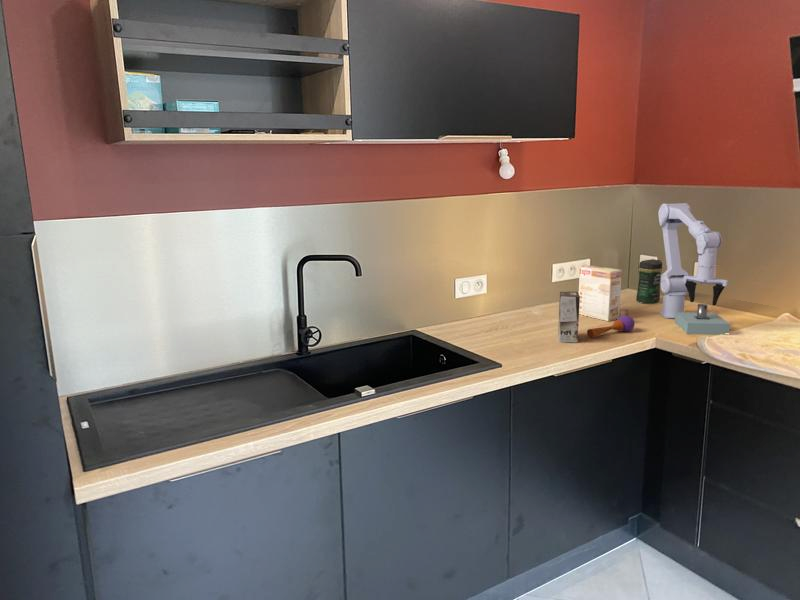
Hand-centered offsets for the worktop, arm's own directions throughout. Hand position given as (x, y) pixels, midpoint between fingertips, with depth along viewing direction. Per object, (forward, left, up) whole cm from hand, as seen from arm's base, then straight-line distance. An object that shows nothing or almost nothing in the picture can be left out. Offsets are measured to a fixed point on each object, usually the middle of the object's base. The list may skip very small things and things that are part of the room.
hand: (703, 303), depth 226 cm
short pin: (-6, -26, -9) cm, 28 cm away
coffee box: (+18, -49, -10) cm, 53 cm away
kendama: (+10, -33, -10) cm, 36 cm away
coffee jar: (-43, -9, -10) cm, 45 cm away
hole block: (0, 0, -9) cm, 9 cm away
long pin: (0, 0, -9) cm, 9 cm away
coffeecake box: (-15, -34, -10) cm, 38 cm away
